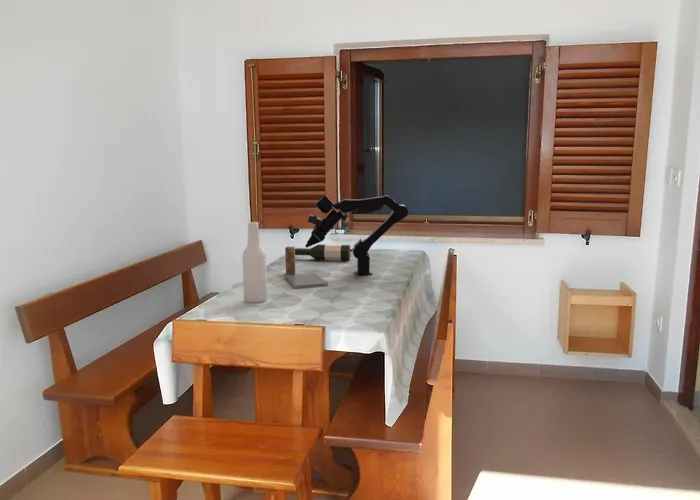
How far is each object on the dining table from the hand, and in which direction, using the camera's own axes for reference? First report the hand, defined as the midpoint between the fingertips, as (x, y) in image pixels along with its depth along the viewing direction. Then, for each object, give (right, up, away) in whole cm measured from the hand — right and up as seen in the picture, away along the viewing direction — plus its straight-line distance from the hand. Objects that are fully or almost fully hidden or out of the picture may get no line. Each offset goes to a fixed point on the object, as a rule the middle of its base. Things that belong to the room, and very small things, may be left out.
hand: (306, 245), depth 260 cm
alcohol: (-16, -22, -42) cm, 50 cm away
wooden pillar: (-8, -13, +2) cm, 15 cm away
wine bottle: (+20, -4, +33) cm, 38 cm away
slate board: (0, -16, -13) cm, 21 cm away
